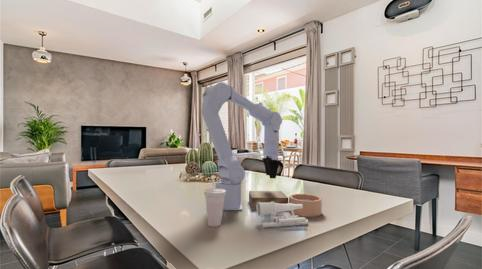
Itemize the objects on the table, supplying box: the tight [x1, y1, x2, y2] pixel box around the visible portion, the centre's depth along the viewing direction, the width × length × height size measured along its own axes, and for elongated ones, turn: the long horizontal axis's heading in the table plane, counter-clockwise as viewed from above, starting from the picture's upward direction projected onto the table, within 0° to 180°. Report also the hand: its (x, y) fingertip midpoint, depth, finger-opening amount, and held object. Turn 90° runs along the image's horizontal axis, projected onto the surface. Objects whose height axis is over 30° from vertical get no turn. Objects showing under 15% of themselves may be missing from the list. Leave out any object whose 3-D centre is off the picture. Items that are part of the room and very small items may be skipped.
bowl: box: [288, 193, 323, 218], centre depth 84 cm, size 11×11×5 cm
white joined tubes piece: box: [255, 201, 309, 229], centre depth 72 cm, size 8×14×5 cm
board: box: [248, 190, 289, 210], centre depth 92 cm, size 13×11×4 cm
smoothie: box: [203, 175, 226, 228], centre depth 70 cm, size 6×6×14 cm
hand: (270, 176), depth 97 cm, fingers open, 7 cm apart
